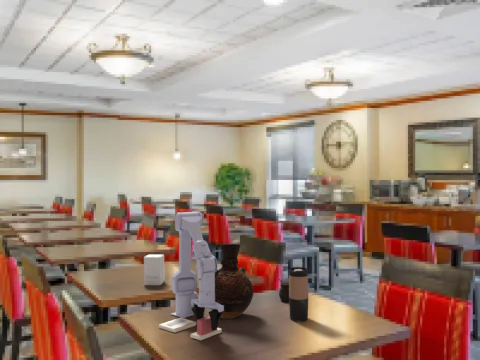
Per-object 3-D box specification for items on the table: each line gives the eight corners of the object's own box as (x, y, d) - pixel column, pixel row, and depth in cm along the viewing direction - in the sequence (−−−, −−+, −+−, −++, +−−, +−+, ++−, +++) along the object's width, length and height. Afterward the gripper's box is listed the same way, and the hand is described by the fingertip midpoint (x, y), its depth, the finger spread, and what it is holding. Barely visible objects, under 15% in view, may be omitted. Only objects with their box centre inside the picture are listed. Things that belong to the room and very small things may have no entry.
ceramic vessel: (216, 326, 178) (215, 248, 178) (196, 314, 193) (196, 242, 193) (262, 317, 189) (261, 243, 188) (240, 307, 204) (240, 238, 203)
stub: (211, 329, 174) (211, 312, 174) (221, 332, 171) (221, 315, 171) (190, 337, 166) (190, 320, 166) (200, 340, 163) (200, 322, 163)
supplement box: (165, 281, 253) (164, 254, 253) (160, 285, 244) (160, 257, 244) (148, 281, 254) (148, 254, 254) (143, 285, 245) (143, 256, 245)
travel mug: (306, 315, 191) (306, 266, 191) (310, 321, 183) (309, 270, 183) (288, 315, 191) (287, 267, 190) (290, 321, 183) (290, 271, 183)
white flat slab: (180, 320, 186) (180, 317, 186) (196, 325, 180) (196, 321, 180) (158, 327, 177) (158, 324, 177) (174, 332, 171) (174, 329, 171)
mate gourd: (294, 303, 209) (293, 280, 209) (277, 302, 211) (276, 280, 211) (295, 298, 216) (295, 277, 216) (279, 298, 218) (278, 276, 218)
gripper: (185, 289, 170) (185, 326, 170) (214, 296, 160) (214, 335, 161) (198, 285, 175) (199, 321, 175) (227, 291, 166) (227, 329, 166)
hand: (207, 327), depth 168 cm, fingers open, 6 cm apart
